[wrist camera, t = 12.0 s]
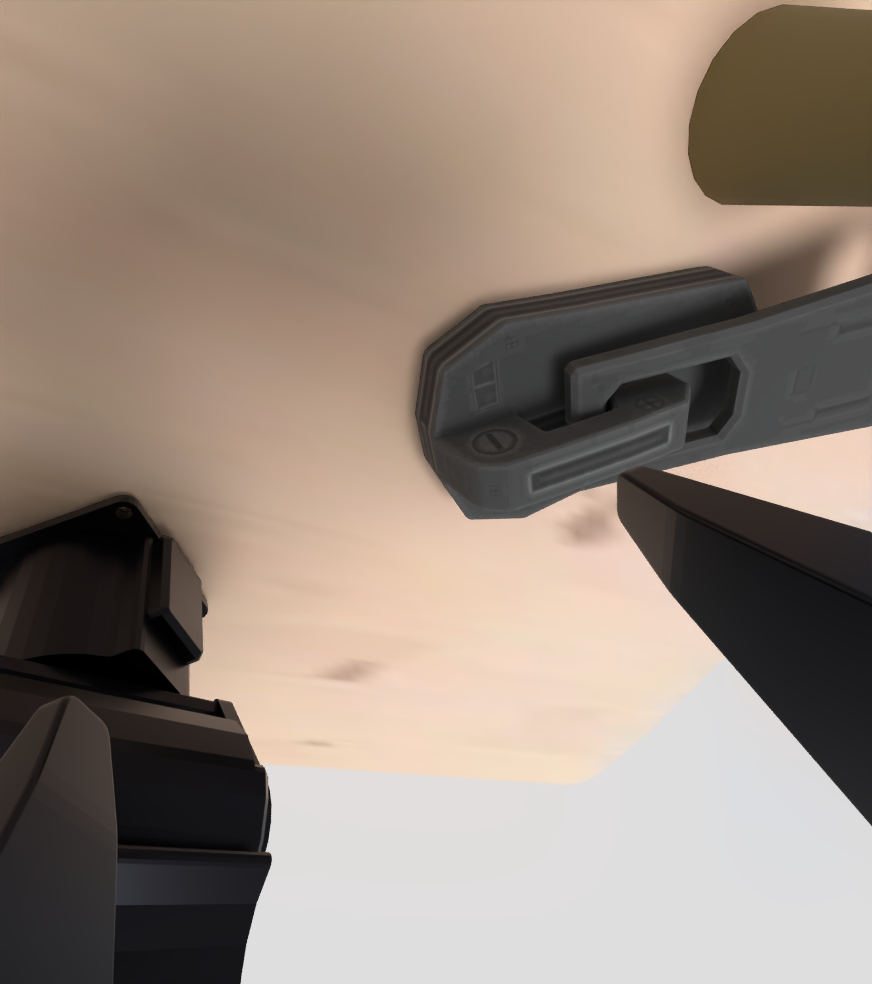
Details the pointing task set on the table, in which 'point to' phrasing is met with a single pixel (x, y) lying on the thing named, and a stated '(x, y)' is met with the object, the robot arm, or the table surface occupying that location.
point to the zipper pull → (635, 383)
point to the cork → (788, 111)
